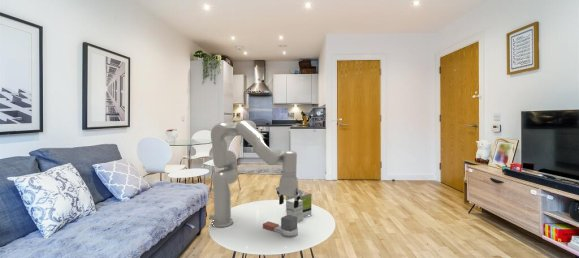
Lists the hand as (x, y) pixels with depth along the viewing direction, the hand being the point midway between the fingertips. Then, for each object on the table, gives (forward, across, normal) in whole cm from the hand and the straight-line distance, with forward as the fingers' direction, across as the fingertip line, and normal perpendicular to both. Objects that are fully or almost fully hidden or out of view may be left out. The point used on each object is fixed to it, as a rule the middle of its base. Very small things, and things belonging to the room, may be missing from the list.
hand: (288, 205), depth 141 cm
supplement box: (+16, -8, +18) cm, 25 cm away
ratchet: (+15, -5, 0) cm, 16 cm away
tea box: (+16, -12, +29) cm, 35 cm away
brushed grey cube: (+12, +1, 0) cm, 12 cm away
